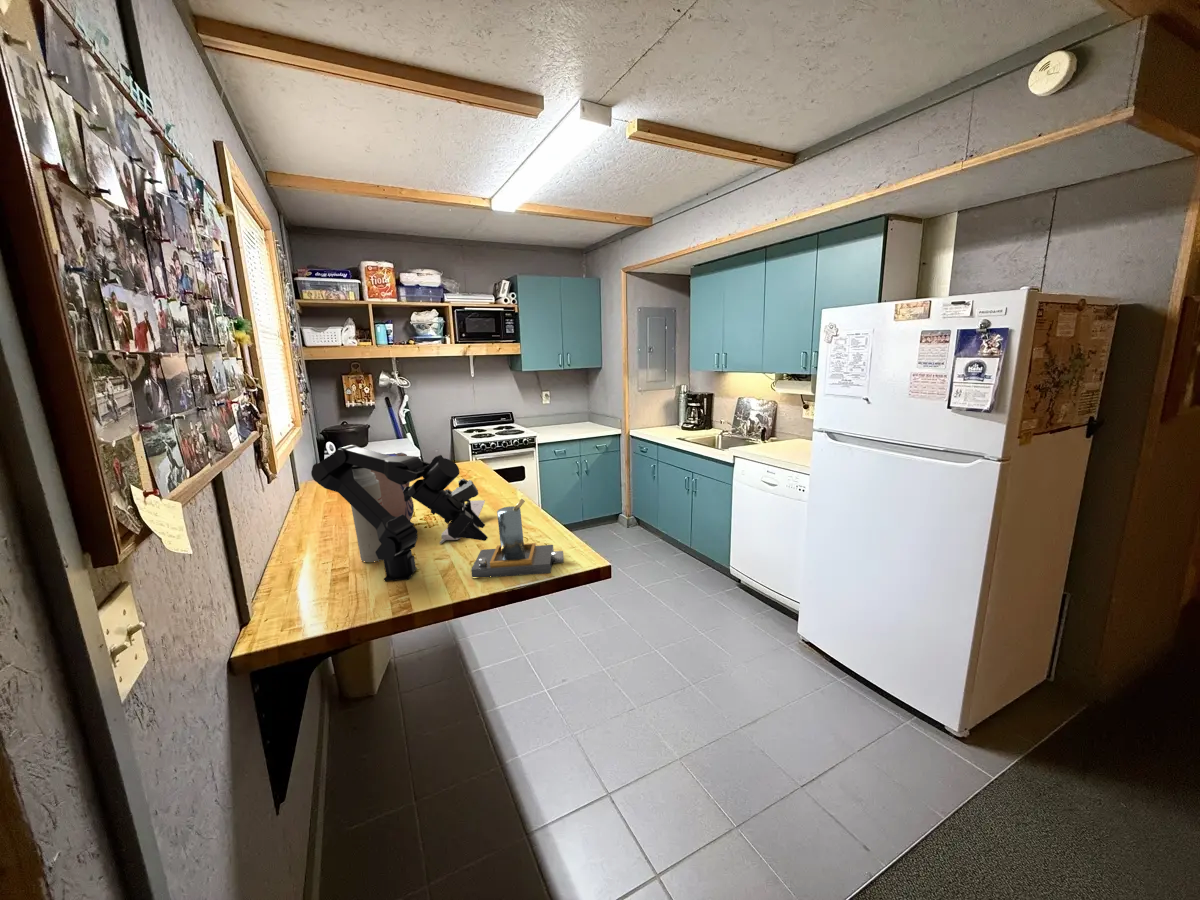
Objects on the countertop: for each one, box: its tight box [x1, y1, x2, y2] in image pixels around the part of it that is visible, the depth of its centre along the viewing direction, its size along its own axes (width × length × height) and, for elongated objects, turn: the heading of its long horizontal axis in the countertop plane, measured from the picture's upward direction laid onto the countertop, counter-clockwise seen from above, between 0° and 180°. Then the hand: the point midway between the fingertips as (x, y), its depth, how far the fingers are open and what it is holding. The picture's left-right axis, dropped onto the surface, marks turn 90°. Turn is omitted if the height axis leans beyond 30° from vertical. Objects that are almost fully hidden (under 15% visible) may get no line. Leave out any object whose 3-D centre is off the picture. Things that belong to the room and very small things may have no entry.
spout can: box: [496, 498, 526, 560], centre depth 124 cm, size 7×6×16 cm
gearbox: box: [470, 542, 565, 578], centre depth 126 cm, size 23×12×4 cm, turn 92°
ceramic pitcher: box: [371, 452, 415, 522], centre depth 156 cm, size 18×21×25 cm
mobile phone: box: [439, 500, 486, 545], centre depth 155 cm, size 6×6×25 cm
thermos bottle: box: [350, 465, 383, 563], centre depth 134 cm, size 8×8×28 cm
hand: (485, 532), depth 123 cm, fingers open, 9 cm apart
